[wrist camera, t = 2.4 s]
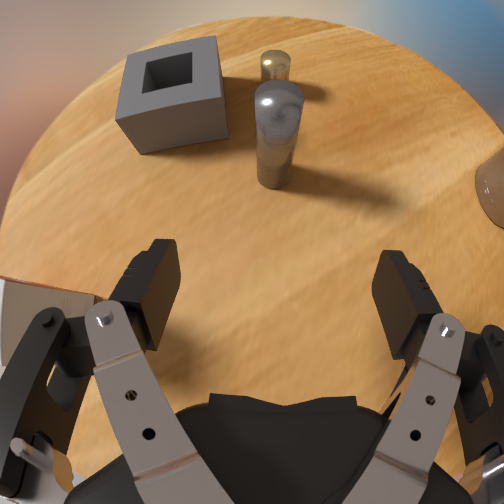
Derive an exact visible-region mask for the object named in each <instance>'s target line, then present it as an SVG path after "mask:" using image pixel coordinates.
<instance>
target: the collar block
mask: <svg viewBox="0 0 504 504" xmlns="http://www.w3.org/2000/svg"><path fill="white" fill-rule="evenodd" d="M115 121H116V122H117V123H118V125H119V126H120V128H121V129H122V130H123V132H124V133H125V135H126V136H127V137H128V139H129V140H130V141H131V143H132V144H133V145H134V147H135V148H136V150H137V151H138V152H139V154H140V155H141V154H146V153H150V152H155V151H160V150H164V149H169V148H175V147H180V146H185V145H191V144H197V143H203V142H209V141H216V140H223V139H229V135H228V126H227V116H226V106H225V97H224V87H223V77H222V71H221V65H220V59H219V53H218V46H217V40H216V35H215V36H208V37H202V38H196V39H191V40H186V41H181V42H176V43H172V44H167V45H163V46H159V47H155V48H151V49H147V50H144V51H140V52H137V53H133V54H130V55H128V56H127V60H126V65H125V69H124V73H123V78H122V83H121V88H120V93H119V98H118V104H117V110H116V116H115Z"/></svg>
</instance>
